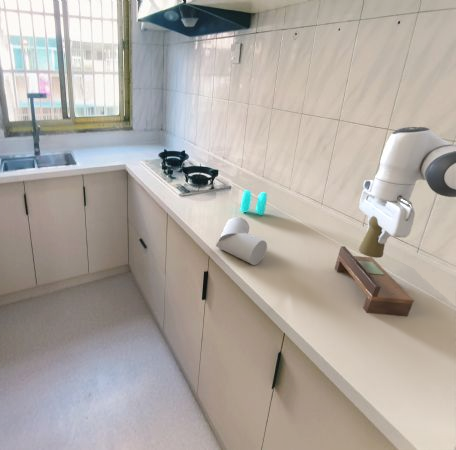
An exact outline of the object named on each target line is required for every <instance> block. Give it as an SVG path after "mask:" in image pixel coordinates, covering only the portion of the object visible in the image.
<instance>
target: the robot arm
mask: <svg viewBox="0 0 456 450" xmlns="http://www.w3.org/2000/svg"><path fill="white" fill-rule="evenodd" d="M419 180H420V181H421V180H422V181H425V182H426V184H427V185H428V186H429V189H430V190H432V192H434V193H435V194H437V195H440V196H443V197H448V198H456V144H455V143H452V142H449V141H447V140H445V139H443V138H441V137H440V136H438V135H437V134H435V133H434V132H433V131H432V130H431V129H430V128H429V127H425V126H408V127H407V126H406V127H402V128H399V129H396V130H395V131H393V132H392V133H391V134H390V136H389V137H388V139H387V140H386V143H385V145H384V148H383V151H382V154H381V157H380V160H379V168H378V171H377V173H376V174H375V176H374V179H366V180H364V181H363V184H362V187H363V189H362V191H361V195H360V199H359V203H358V208H359V211H360V212H362V214H364V215H365V216H367V229H366V232H367V231H368V229H369V227H370V225H369V220H370V218H371V217H372V216H374V217H376V218H377V221H378V225H379V226H380V227H381V228H382V234H381V235H378V237H377V241H378V242H379V243H380V244H385V245H386V243H387V241H388V239H389V238H390V237H393V238H402V239H405V238H407V237H408V236H410V234H411V231H412V228H413V225H414V220H415V214H416V213H415V209H414V207H413V202H412V201H410V200H411V197H412V195H413V194H412V193H413V191H414V188H415V185H416V183H417V181H419Z"/></svg>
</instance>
